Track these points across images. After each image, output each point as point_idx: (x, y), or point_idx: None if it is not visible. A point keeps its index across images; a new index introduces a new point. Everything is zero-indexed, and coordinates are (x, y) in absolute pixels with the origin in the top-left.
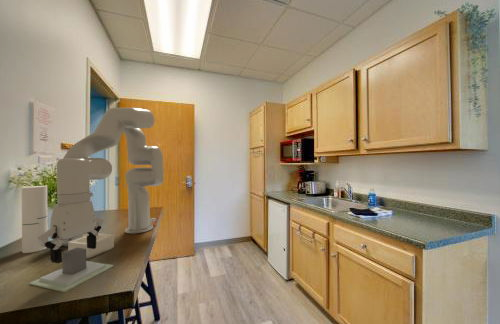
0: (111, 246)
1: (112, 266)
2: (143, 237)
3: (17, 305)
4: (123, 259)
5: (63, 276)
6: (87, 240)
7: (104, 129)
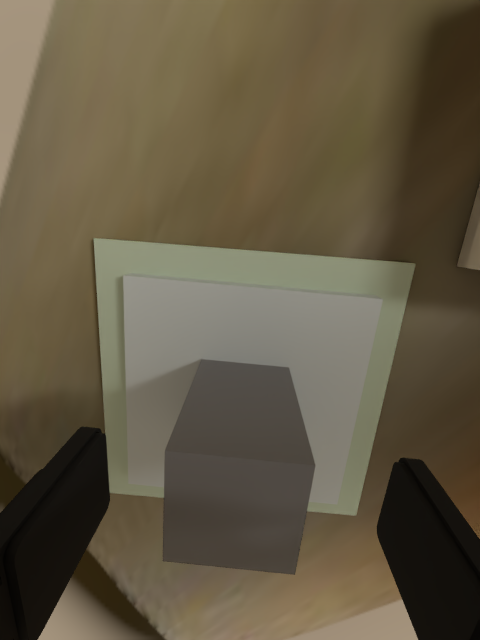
0: None
1: (346, 512)
2: None
3: None
4: None
5: (172, 405)
6: (441, 545)
7: None
